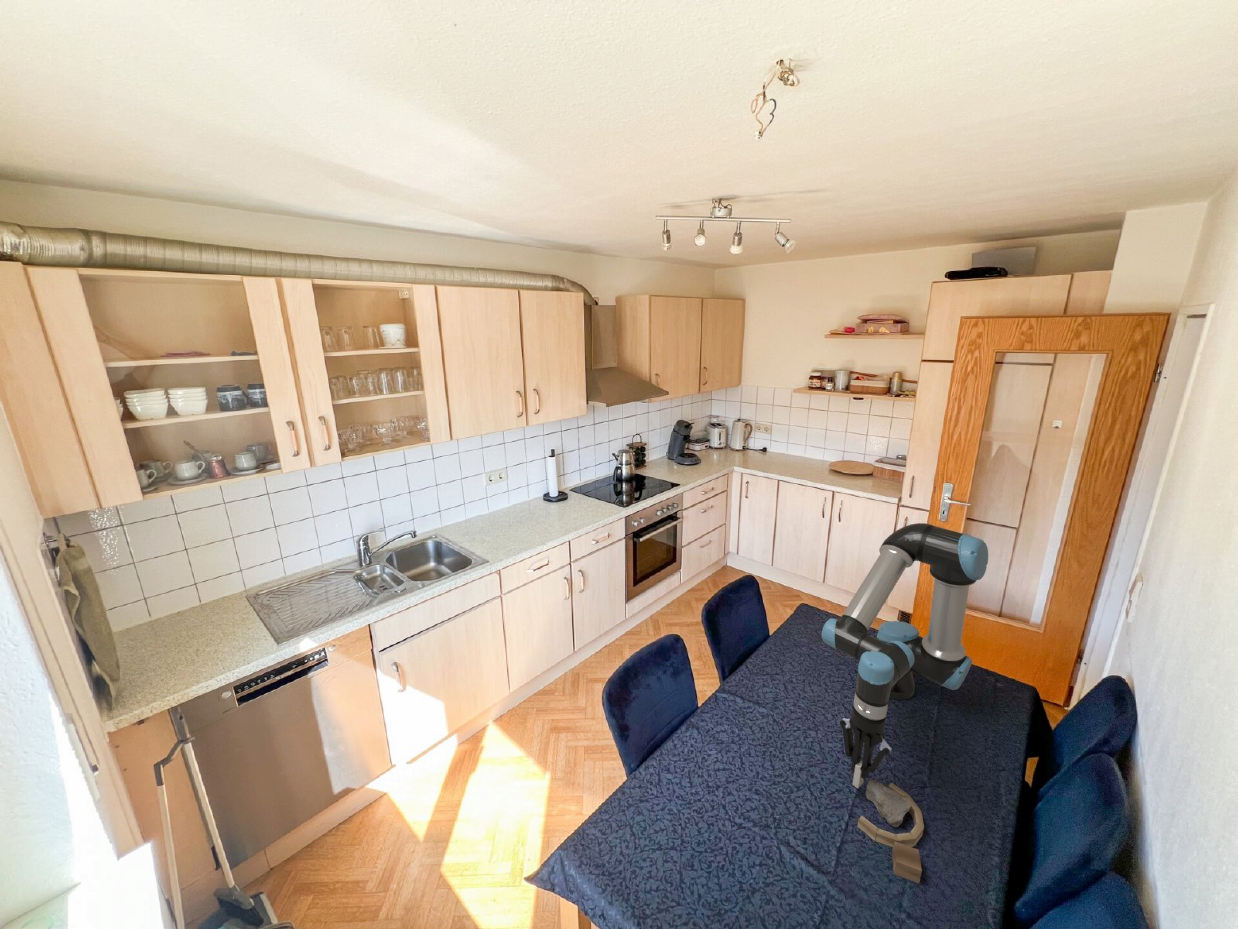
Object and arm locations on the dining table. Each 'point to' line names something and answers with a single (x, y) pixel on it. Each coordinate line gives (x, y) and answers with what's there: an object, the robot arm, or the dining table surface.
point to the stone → (887, 802)
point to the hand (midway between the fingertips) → (857, 783)
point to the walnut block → (906, 862)
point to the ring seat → (888, 837)
